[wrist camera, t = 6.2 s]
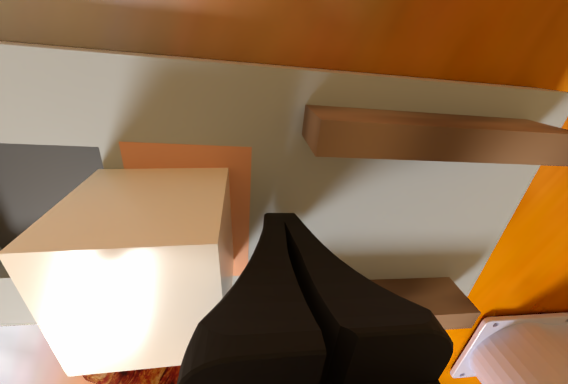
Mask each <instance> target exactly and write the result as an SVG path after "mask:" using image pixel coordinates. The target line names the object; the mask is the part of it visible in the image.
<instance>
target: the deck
mask: <svg viewBox="0 0 568 384" xmlns="http://www.w3.org/2000/svg"><path fill="white" fill-rule="evenodd" d="M305 104H306V105H321V106H336V107H351V108H365V109H380V110H395V111H410V112H425V113H440V114H455V115H470V116H485V117H500V118H515V119H528V120H531V121H535V122H539V123H543V124H547V125H551V126H555V127H558V128H561V127H562V126H563V124H564V122H565V120H566V118H567V117H568V92H563V91H556V90H549V89H542V88H533V87H522V86H510V85H499V84H488V83H476V82H465V81H453V80H442V79H431V78H419V77H408V76H396V75H385V74H373V73H362V72H351V71H339V70H328V69H316V68H305V67H294V66H282V65H271V64H259V63H248V62H236V61H225V60H214V59H202V58H191V57H179V56H168V55H156V54H145V53H134V52H122V51H111V50H99V49H88V48H77V47H65V46H54V45H42V44H31V43H19V42H8V41H0V251H1V250H2V249H3V248H5V247H6V246H7V245H8V244H9V243H11V242H12V241H13V240H14V239H15V238H17V237H18V236H19V235H20V234H21V233H23V232H24V231H25V230H26V229H27V228H29V227H30V226H31V225H32V224H33V223H35V222H36V221H37V220H38V219H39V218H41V217H42V216H43V215H44V214H45V213H46V212H48V211H49V210H50V209H51V208H52V207H54V206H55V205H56V204H57V203H58V202H60V201H61V200H62V199H63V198H64V197H66V196H67V195H68V194H69V193H70V192H72V191H73V190H74V189H75V188H76V187H78V186H79V185H80V184H81V183H82V182H84V181H85V180H86V179H87V178H88V177H90V176H91V175H92V174H93V173H94V172H96V171H97V170H98V169H149V168H228V171H229V188H230V205H231V222H232V239H233V256H234V265H233V283H232V286H233V285H234V283H235V282H236V281H237V279H238V278H239V276H240V275H241V273H242V272H243V270H244V269H245V267H246V265H247V264H248V262H249V260H250V258H251V256H252V254H253V252H254V250H255V248H256V246H257V243H258V241H259V238H260V235H261V232H262V229H263V221H264V215H265V214H266V213H295V214H296V215H297V216H298V217H299V219H300V220H301V221H302V222H303V223H304V224H305V226H306V227H307V228H308V229H309V230H310V231H311V232H312V233H313V234H314V235H315V237H316V238H317V239H318V240H319V241H320V242H321V243H322V244H323V245H324V246H326V247H327V248H328V249H329V250H330V251H331V252H332V253H333V254H335V255H336V256H337V257H338V258H339V259H341V260H342V261H343V262H345V263H346V264H347V265H349V266H350V267H351V268H353V269H354V270H356V271H357V272H358V273H360V274H362V275H363V276H365V277H366V278H368V279H369V280H375V279H405V278H436V277H450V278H451V280H452V281H453V282H454V283H455V284H456V285H457V286H458V288H459V289H460V290H461V291H462V292H463V293H464V294H465V295H466V297H467V296H468V294H469V293H470V291H471V289H472V287H473V285H474V284H475V282H476V280H477V278H478V276H479V275H480V273H481V271H482V269H483V267H484V266H485V264H486V262H487V260H488V258H489V257H490V255H491V253H492V251H493V250H494V248H495V246H496V244H497V242H498V241H499V239H500V237H501V235H502V233H503V232H504V230H505V228H506V226H507V224H508V223H509V221H510V219H511V217H512V215H513V214H514V212H515V210H516V208H517V206H518V205H519V203H520V201H521V199H522V197H523V196H524V194H525V192H526V190H527V188H528V187H529V185H530V183H531V181H532V179H533V178H534V176H535V174H536V172H537V170H538V169H539V167H540V165H522V164H496V163H469V162H443V161H417V160H390V159H364V158H337V157H315V155H314V153H313V152H312V150H311V149H310V147H309V146H308V144H307V142H306V141H305V139H304V138H303V136H302V128H303V120H304V111H305ZM35 324H37V323H36V321H35V319H34V317H33V316H32V314H31V312H30V311H29V309H28V307H27V305H26V304H25V302H24V300H23V298H22V297H21V295H20V293H19V292H18V290H17V288H16V286H15V285H14V283H13V281H12V279H11V278H10V276H9V274H8V273H7V271H6V269H5V267H4V266H3V264H2V262H1V260H0V326H15V325H35Z"/></svg>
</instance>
